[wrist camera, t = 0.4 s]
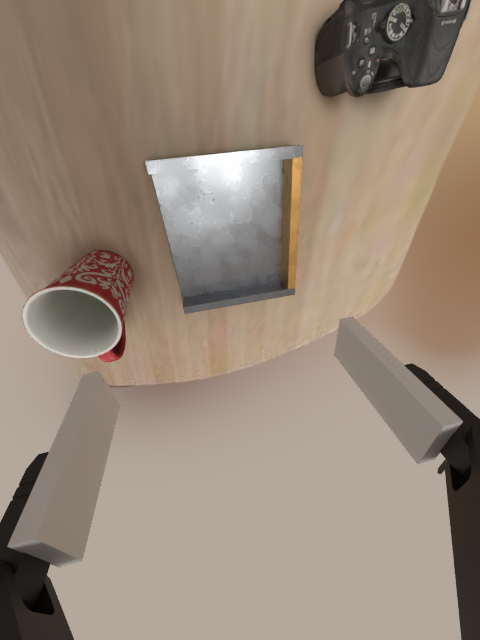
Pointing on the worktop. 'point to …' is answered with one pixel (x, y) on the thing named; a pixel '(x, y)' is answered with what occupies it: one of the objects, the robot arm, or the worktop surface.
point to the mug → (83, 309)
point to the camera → (387, 44)
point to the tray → (231, 223)
